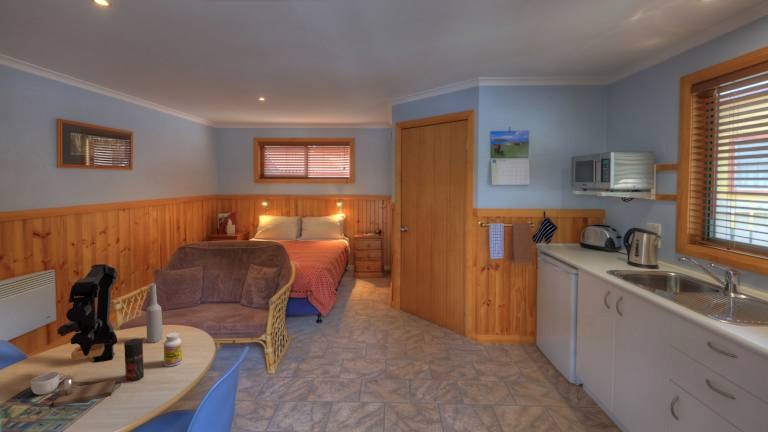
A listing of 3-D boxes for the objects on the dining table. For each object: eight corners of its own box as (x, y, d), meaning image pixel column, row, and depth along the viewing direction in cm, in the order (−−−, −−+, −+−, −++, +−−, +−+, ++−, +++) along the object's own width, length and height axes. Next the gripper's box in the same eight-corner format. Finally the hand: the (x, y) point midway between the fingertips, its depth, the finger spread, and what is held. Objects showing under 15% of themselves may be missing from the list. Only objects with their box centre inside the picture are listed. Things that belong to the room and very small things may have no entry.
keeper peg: (73, 392, 132) (72, 377, 131) (71, 394, 130) (70, 380, 130) (66, 393, 131) (65, 378, 131) (64, 396, 129) (63, 381, 129)
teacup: (37, 399, 130) (36, 385, 129) (26, 394, 133) (25, 379, 132) (71, 385, 139) (70, 372, 138) (60, 380, 142) (59, 367, 141)
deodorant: (147, 375, 147) (146, 339, 145) (132, 383, 141) (131, 346, 140) (136, 373, 149) (135, 337, 147) (122, 380, 143) (120, 343, 142)
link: (104, 349, 147) (104, 343, 147) (101, 355, 142) (100, 349, 141) (75, 353, 143) (75, 347, 143) (71, 360, 137) (71, 353, 137)
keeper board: (115, 383, 141) (115, 379, 141) (111, 395, 133) (111, 391, 133) (62, 393, 133) (61, 389, 133) (53, 407, 125) (53, 403, 125)
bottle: (150, 344, 175) (148, 287, 172) (144, 340, 178) (142, 285, 176) (165, 339, 180) (163, 284, 178) (158, 336, 184) (156, 282, 181)
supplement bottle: (163, 368, 153) (162, 338, 152) (165, 361, 159) (164, 332, 158) (181, 365, 155) (180, 336, 154) (182, 358, 161) (182, 330, 160)
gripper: (66, 308, 145) (68, 346, 147) (51, 324, 129) (53, 367, 130) (101, 305, 151) (103, 341, 152) (90, 319, 134) (92, 360, 135)
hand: (88, 352), depth 142 cm, fingers closed on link, 6 cm apart
